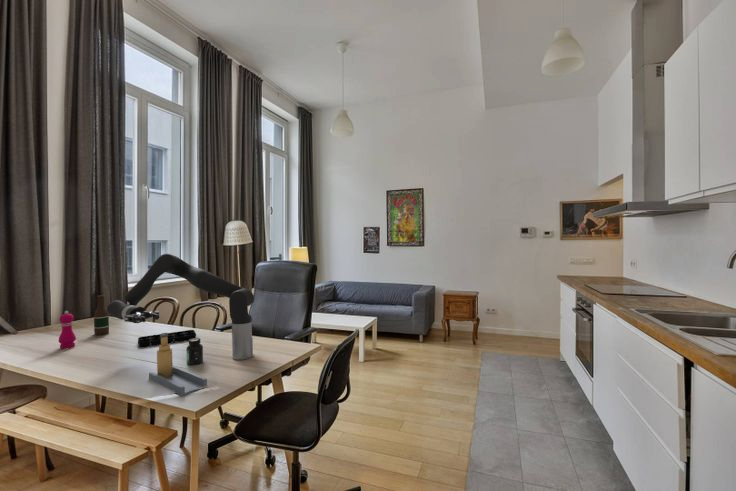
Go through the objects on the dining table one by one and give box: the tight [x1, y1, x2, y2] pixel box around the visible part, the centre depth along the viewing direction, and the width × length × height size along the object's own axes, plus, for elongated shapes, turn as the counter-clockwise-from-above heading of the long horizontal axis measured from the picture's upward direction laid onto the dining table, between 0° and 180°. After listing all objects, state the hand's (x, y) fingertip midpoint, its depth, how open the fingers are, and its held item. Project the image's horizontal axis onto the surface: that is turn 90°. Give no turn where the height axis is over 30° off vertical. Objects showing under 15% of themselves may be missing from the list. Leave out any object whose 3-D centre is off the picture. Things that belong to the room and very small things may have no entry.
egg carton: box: [137, 329, 197, 349], centre depth 204 cm, size 18×30×4 cm, turn 135°
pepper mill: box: [58, 310, 77, 350], centre depth 194 cm, size 7×7×20 cm
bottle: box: [156, 332, 174, 378], centre depth 149 cm, size 6×6×18 cm
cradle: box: [148, 365, 208, 398], centre depth 143 cm, size 26×10×4 cm, turn 55°
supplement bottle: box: [185, 337, 204, 367], centre depth 164 cm, size 7×7×12 cm
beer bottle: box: [93, 294, 110, 336], centre depth 221 cm, size 8×8×24 cm
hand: (151, 318), depth 155 cm, fingers open, 4 cm apart
